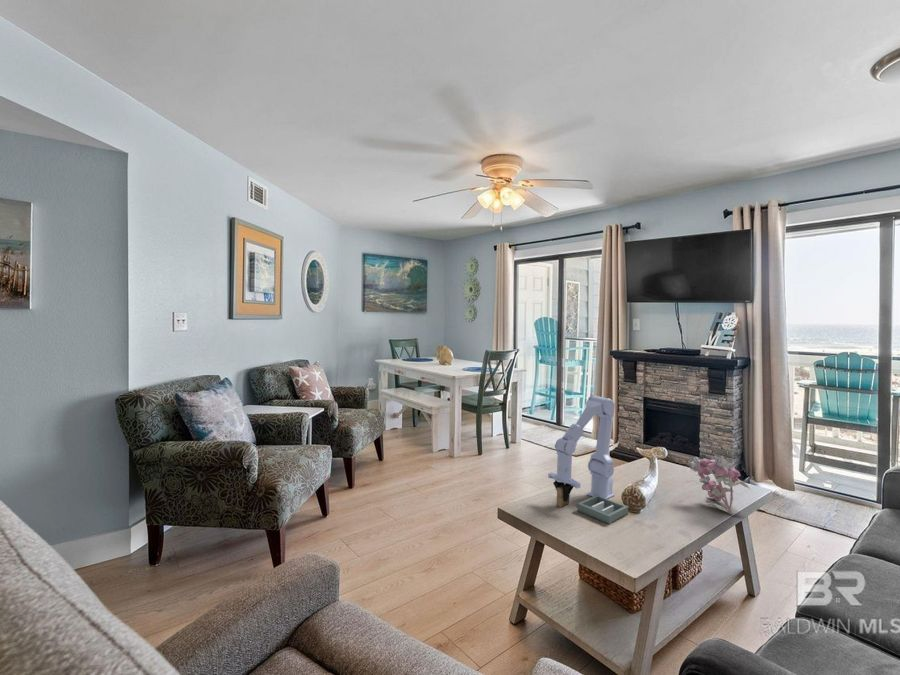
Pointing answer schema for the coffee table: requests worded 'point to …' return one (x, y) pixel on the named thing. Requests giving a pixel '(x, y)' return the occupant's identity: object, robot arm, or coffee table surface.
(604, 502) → the slotted divider tray
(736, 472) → the flower
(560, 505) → the wood block
